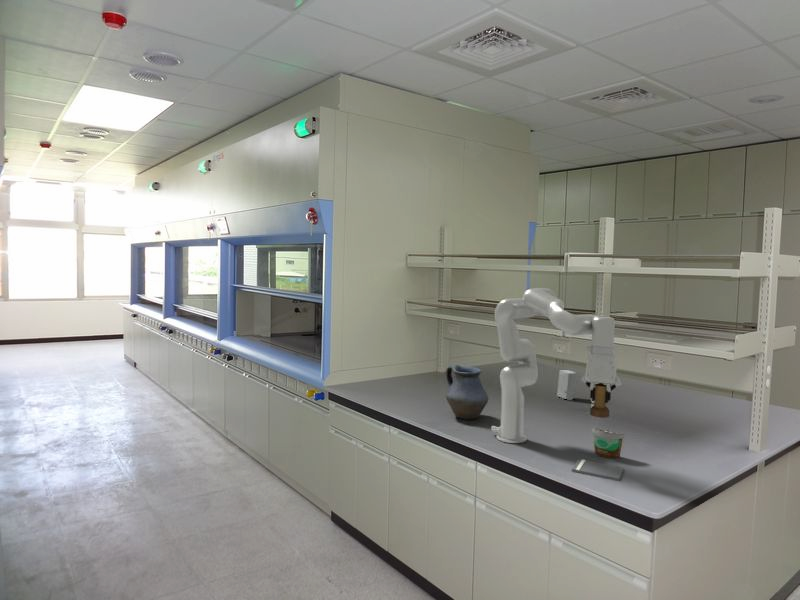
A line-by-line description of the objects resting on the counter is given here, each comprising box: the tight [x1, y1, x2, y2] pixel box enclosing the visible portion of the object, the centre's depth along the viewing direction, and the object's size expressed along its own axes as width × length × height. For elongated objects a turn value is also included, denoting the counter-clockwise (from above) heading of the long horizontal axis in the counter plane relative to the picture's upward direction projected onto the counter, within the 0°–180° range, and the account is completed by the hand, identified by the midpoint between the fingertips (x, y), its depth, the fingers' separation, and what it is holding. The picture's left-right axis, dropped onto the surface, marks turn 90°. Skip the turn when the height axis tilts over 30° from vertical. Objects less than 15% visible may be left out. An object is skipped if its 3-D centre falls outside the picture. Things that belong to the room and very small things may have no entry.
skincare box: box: [556, 369, 578, 399], centre depth 305 cm, size 8×7×16 cm
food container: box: [591, 427, 626, 459], centre depth 211 cm, size 12×6×10 cm, turn 56°
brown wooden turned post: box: [589, 383, 610, 419], centre depth 194 cm, size 7×6×18 cm
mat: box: [571, 458, 625, 481], centre depth 196 cm, size 16×12×1 cm
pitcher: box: [445, 363, 489, 421], centre depth 262 cm, size 21×22×25 cm
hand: (600, 400), depth 194 cm, fingers closed on brown wooden turned post, 4 cm apart
